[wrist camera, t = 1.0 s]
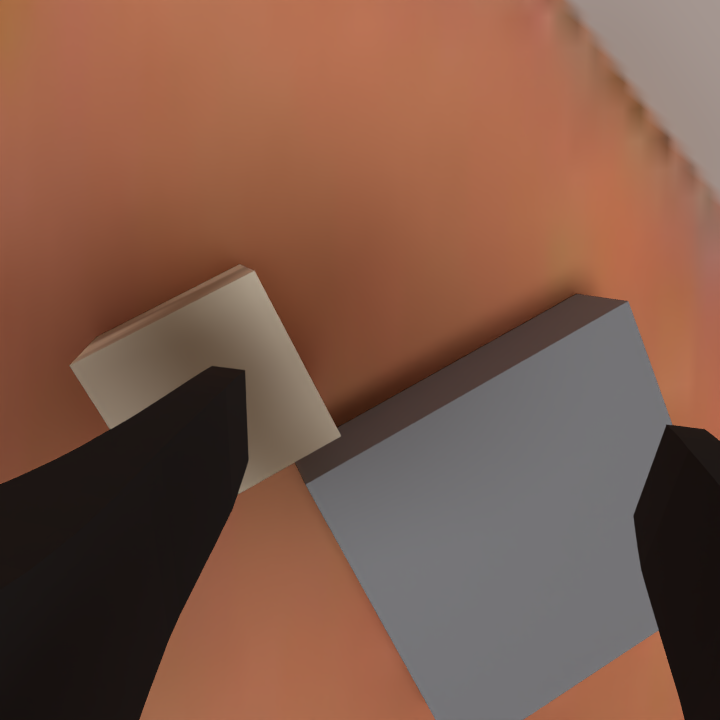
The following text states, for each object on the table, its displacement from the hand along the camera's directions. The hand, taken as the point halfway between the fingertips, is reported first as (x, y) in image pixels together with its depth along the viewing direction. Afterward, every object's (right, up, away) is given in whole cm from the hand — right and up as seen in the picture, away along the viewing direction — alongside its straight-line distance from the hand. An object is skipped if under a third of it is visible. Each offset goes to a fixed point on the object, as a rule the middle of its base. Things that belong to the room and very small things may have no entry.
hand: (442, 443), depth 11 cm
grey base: (+4, -4, +14) cm, 15 cm away
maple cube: (-6, +1, +10) cm, 12 cm away
